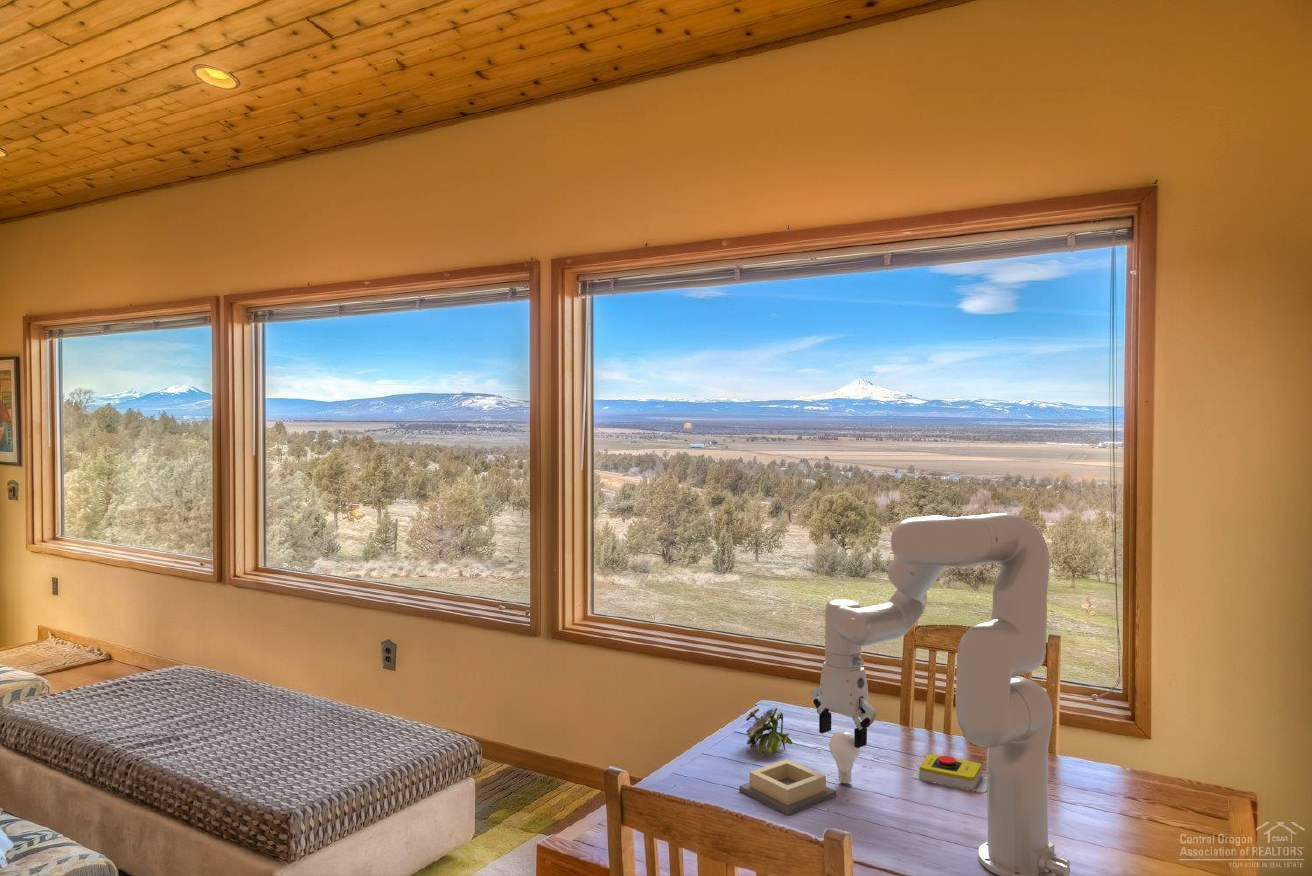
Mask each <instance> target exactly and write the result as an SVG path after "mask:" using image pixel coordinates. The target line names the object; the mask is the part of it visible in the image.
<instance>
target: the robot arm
mask: <svg viewBox="0 0 1312 876" xmlns="http://www.w3.org/2000/svg"><path fill="white" fill-rule="evenodd" d="M890 546H891V549H892V550H891V551H892V553H893V554H894V556H895V557H894V558H893V560H892V561H891V562H890V564H888V567H887V577H888V579H889V580H890V582H891V584H892V585H893V586H894V587H895V588H896V591H895V592H894V594H893V595H892V596H890V598H889V600H888V601H887V602H885V603H879V604H873V605H868V606H861V604H860V603H859V602H857V601H855V600H851V599H847V598H846V599H843V598H839V599H838V598H835V599H832V600H829V601H828V602H827V603H826V605H825V608H824V609H825V610H824V612H825V613H824V614H825V615H824V619H825V622H824V623H825V624H824V625H825V628H824V633H825V634H824V662H823V663H822V667H821V672H820V673H821V674H820V681H819V687H815V688H812V689H811V690H810V695H811V697H812V700H813V705H814V707H815V708H816V713H817V714H818V719H819V720H818V723H819V725H818V732H819V734H825V733H829V732H830V731H832V712H834V713H836V714H839V715H841V716H845V717H847V718H851V719H852V721H853V722H854V725H855V728H854V730H853V731H854V733H853V735H854V746H855V747H856V748H860V749H861V748H863V747H864V746H867V744H868V743H867V741H868V728H869V727H870V726H871V725H872V724H873V723H874V722H875V720H876V717H877V715H878V711H877V709H876V708H875V707H874V706H873V705H872V704H871V703H870V702H869V688H868V679H867V675H866V670H865V668H864V664H865V659H863V658H862V647H864V646H865V647H868V646H872V645H876V644H881V643H885V642H889V641H893V640H899V639H900V638H902V637H904V636H906V634H907V633H908V632H909V631H911V629H912V628H913V627H914V626H915V624H916V623H918V621H919V619H920V618H922V615H924V612H925V611H926V610H925V609H926V606H927V601H928V593H927V592H928V591H929V590H930V589H931V587H932V586H933V585H934V584H935V582H936V581H937V580H938V579H939V578H940V577H941V575H942V574H943V572H945V571H946V569H947V568H948V567H951V568H969V567H976V566H982V565H989V564H995V563H999V564H1000V570H999V573H998V574H997V577H996V579H995V582H994V585H993V589H992V611H991V612H992V613H991V617H990V620H989V621H985V622H981V623H977V624H975V625H973V626H971V627H969V628H968V629H967V630H966V631H965V632H964V634H962V637H961V638H960V641H959V644H958V646H957V652H956V653H957V654H956V675H955V676H956V679H955V715H956V719H957V724H958V726H959V729H960V731H961V732H962V733H963V734H962V735H964V737H965V738H966V739H967V740H968V741H969V742H971V744H972V745H975V746H977V747H979V748H984V749H987V754H986V755H987V757H986V776H987V791H986V794H987V796H986V797H987V799H986V800H987V801H986V802H987V804H986V805H987V807H986V808H987V841H986V842H984V843H983V844H981V845H980V846H979V848H978V850H977V854H978V855H977V857H978V858H977V859H978V860H979V862H980V863H981V865H982V866H983V867H985V869H986V870H988V871H989V872H990V873H992V874H994V875H997V876H1070V874H1071V868H1070V867H1071V861H1070V860H1068V859H1066V858H1064V857H1062V856H1061V857H1060V856H1058V855H1057V853H1055V844H1054V843H1052V842H1050V841H1049V819H1048V818H1049V817H1048V815H1049V813H1048V812H1049V810H1048V809H1049V808H1048V807H1049V806H1048V805H1049V804H1048V799H1049V798H1048V794H1049V793H1048V776H1049V775H1048V758H1049V752H1048V751H1049V744H1050V737H1051V732H1052V727H1053V717H1054V714H1053V705H1052V701H1051V699H1050V697H1049V694H1048V693H1047V691H1046V690H1045V689H1044V687H1042V686H1041V685H1040V684H1039V683H1038V682H1036V681H1033V680H1031V679H1029V678H1025V677H1018V676H1021V675H1022V676H1023V675H1026V674H1028V673H1032V672H1034V671H1036V670H1037V669H1039V668H1040V667H1041V666H1042V665H1043V663H1044V662H1045V658H1046V653H1047V630H1048V629H1047V627H1048V626H1047V623H1048V620H1047V619H1048V586H1049V576H1050V552H1049V548H1048V544H1047V542H1046V540H1045V538H1044V536H1043V534H1042V533H1041V532H1040V531H1039V529H1038V528H1037V527H1036V526H1035V525H1034V524H1033V523H1031V522H1030V521H1029V520H1028V519H1025V518H1024V517H1022V516H1019V515H1016V514H1011V513H1004V512H1002V513H1001V512H997V513H986V514H978V515H976V514H975V515H968V516H967V515H966V516H958V517H957V516H955V517H948V516H944V515H928V516H915V517H908V518H906V519H904V520H902V521H900V522H899V523H898V524H897V525H896V526H895V528H894V529H893V531H892V533H891V537H890ZM862 666H863V667H862ZM831 711H832V712H831Z"/></svg>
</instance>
